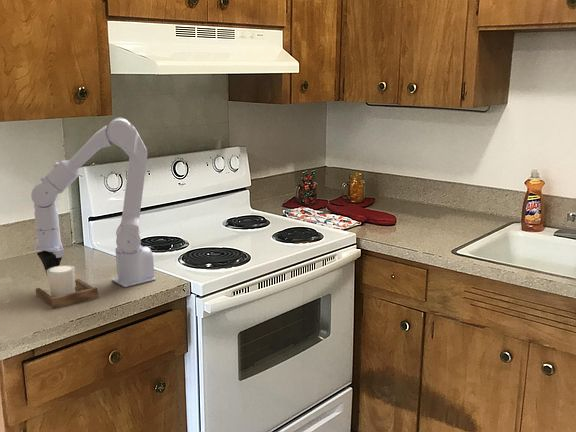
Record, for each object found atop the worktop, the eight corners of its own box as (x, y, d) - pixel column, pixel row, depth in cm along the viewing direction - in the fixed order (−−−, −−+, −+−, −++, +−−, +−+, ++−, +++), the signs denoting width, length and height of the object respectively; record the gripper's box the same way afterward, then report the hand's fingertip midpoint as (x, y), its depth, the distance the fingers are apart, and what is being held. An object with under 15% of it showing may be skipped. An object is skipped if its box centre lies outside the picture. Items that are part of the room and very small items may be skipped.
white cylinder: (57, 301, 158) (55, 275, 156) (44, 295, 162) (41, 269, 160) (82, 293, 163) (80, 268, 161) (68, 288, 167) (65, 262, 165)
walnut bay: (79, 285, 169) (78, 276, 168) (98, 297, 160) (97, 288, 159) (36, 296, 161) (35, 286, 161) (53, 308, 153) (52, 299, 152)
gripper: (22, 225, 166) (27, 274, 169) (42, 236, 155) (48, 288, 159) (48, 221, 170) (53, 268, 174) (70, 231, 160) (75, 281, 163)
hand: (52, 277), depth 166 cm, fingers closed
